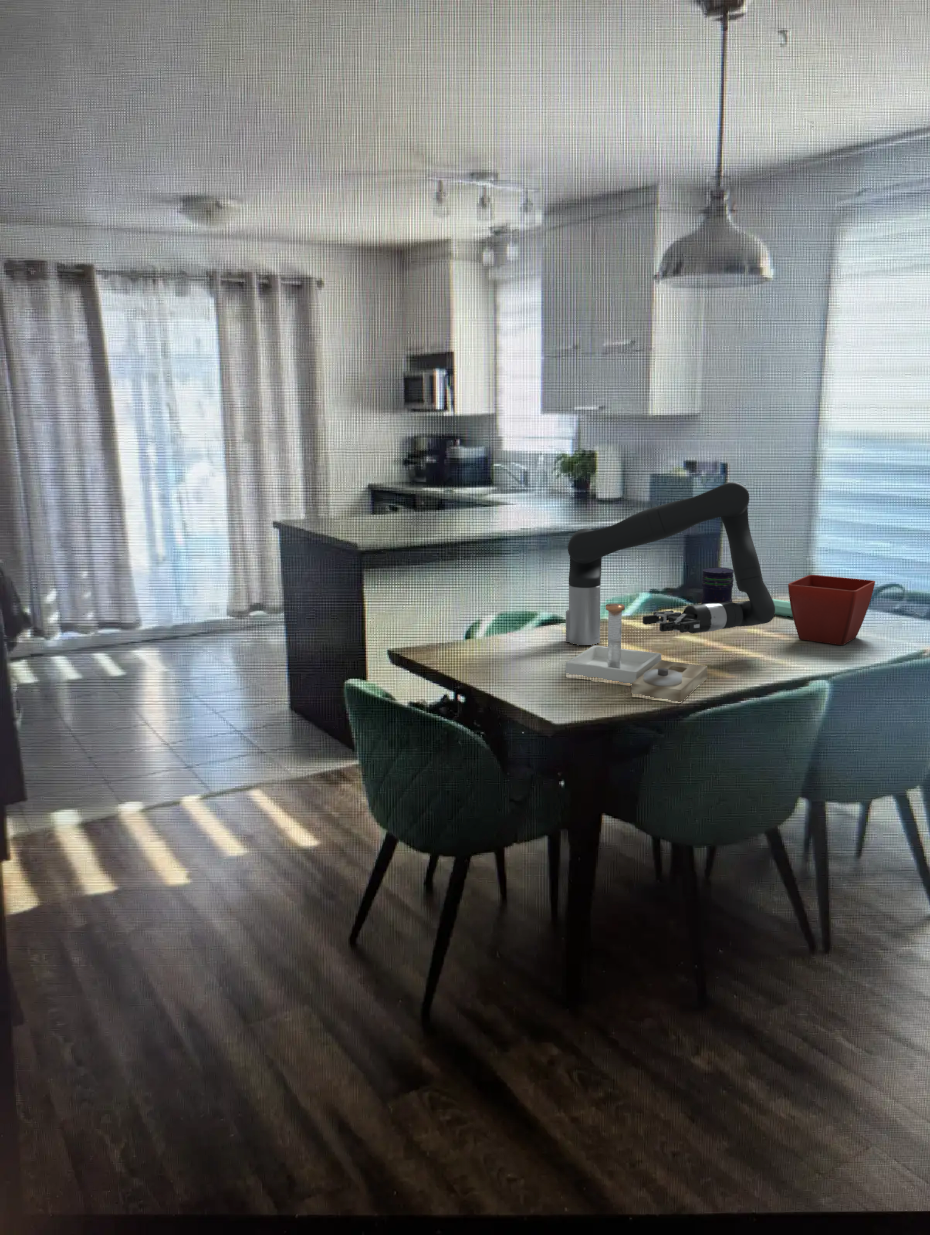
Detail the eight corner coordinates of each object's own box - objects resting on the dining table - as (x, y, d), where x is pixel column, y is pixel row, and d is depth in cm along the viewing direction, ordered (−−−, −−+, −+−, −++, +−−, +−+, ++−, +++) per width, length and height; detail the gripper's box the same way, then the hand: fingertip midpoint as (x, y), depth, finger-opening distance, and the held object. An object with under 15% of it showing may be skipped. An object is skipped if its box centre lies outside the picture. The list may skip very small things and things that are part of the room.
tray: (565, 677, 235) (565, 662, 234) (593, 659, 251) (594, 645, 250) (636, 687, 226) (636, 672, 225) (660, 668, 242) (661, 653, 241)
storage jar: (694, 613, 303) (696, 568, 299) (720, 610, 305) (722, 566, 302) (711, 619, 293) (713, 573, 290) (738, 616, 296) (740, 571, 293)
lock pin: (602, 670, 238) (602, 606, 234) (608, 665, 242) (609, 602, 238) (619, 672, 235) (620, 608, 231) (626, 667, 239) (627, 604, 235)
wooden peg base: (631, 697, 219) (631, 671, 218) (660, 673, 237) (661, 649, 236) (680, 704, 213) (681, 678, 212) (706, 679, 231) (707, 655, 230)
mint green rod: (749, 592, 304) (818, 602, 285) (758, 596, 308) (827, 607, 289) (744, 609, 304) (813, 621, 285) (754, 613, 308) (822, 625, 289)
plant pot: (806, 627, 281) (810, 573, 277) (871, 636, 269) (876, 580, 265) (783, 640, 266) (786, 583, 263) (851, 650, 255) (855, 591, 251)
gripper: (690, 599, 250) (638, 604, 245) (721, 609, 237) (666, 615, 232) (689, 625, 252) (637, 631, 247) (719, 637, 239) (665, 644, 234)
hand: (651, 623), depth 239 cm, fingers open, 8 cm apart
